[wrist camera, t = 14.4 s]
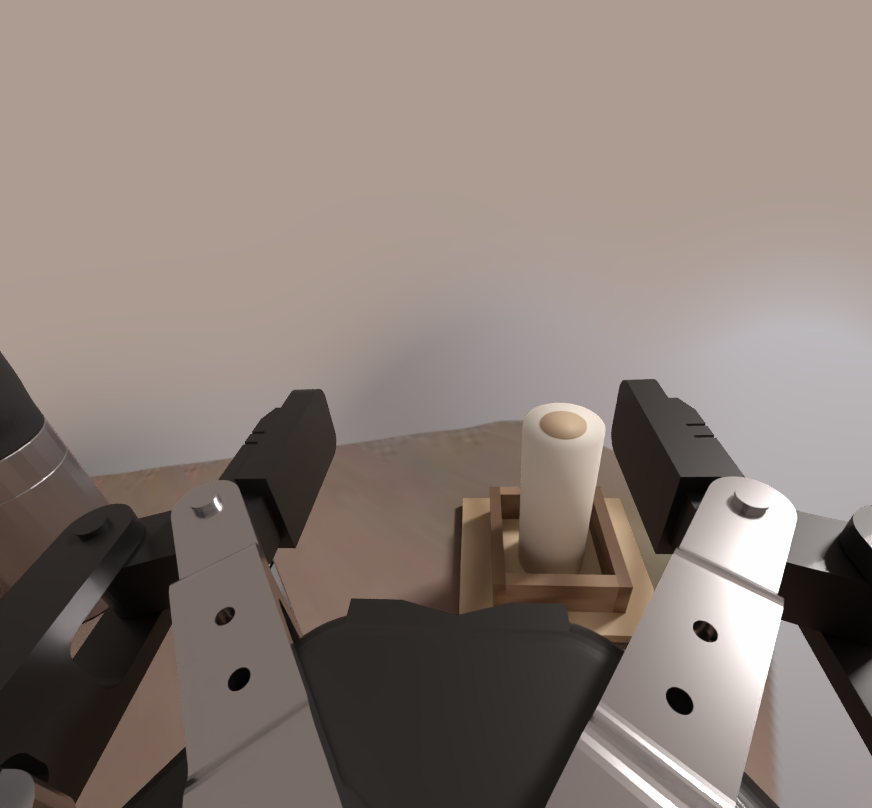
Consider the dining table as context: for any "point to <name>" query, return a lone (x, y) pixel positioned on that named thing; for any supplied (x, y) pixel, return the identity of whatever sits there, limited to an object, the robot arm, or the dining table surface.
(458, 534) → the dining table surface
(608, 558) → the open wooden box
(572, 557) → the paper towel roll
